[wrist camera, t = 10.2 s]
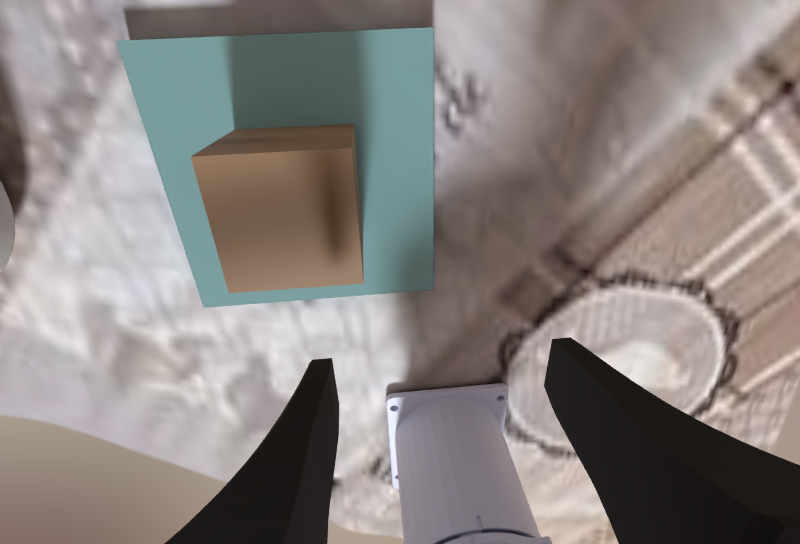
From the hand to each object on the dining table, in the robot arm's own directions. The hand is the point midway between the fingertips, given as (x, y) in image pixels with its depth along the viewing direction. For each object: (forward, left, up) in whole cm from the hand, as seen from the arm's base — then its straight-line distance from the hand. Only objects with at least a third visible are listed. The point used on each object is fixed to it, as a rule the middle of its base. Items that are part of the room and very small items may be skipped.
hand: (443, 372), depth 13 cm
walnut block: (+4, +5, -8) cm, 11 cm away
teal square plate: (+4, +5, -9) cm, 11 cm away
